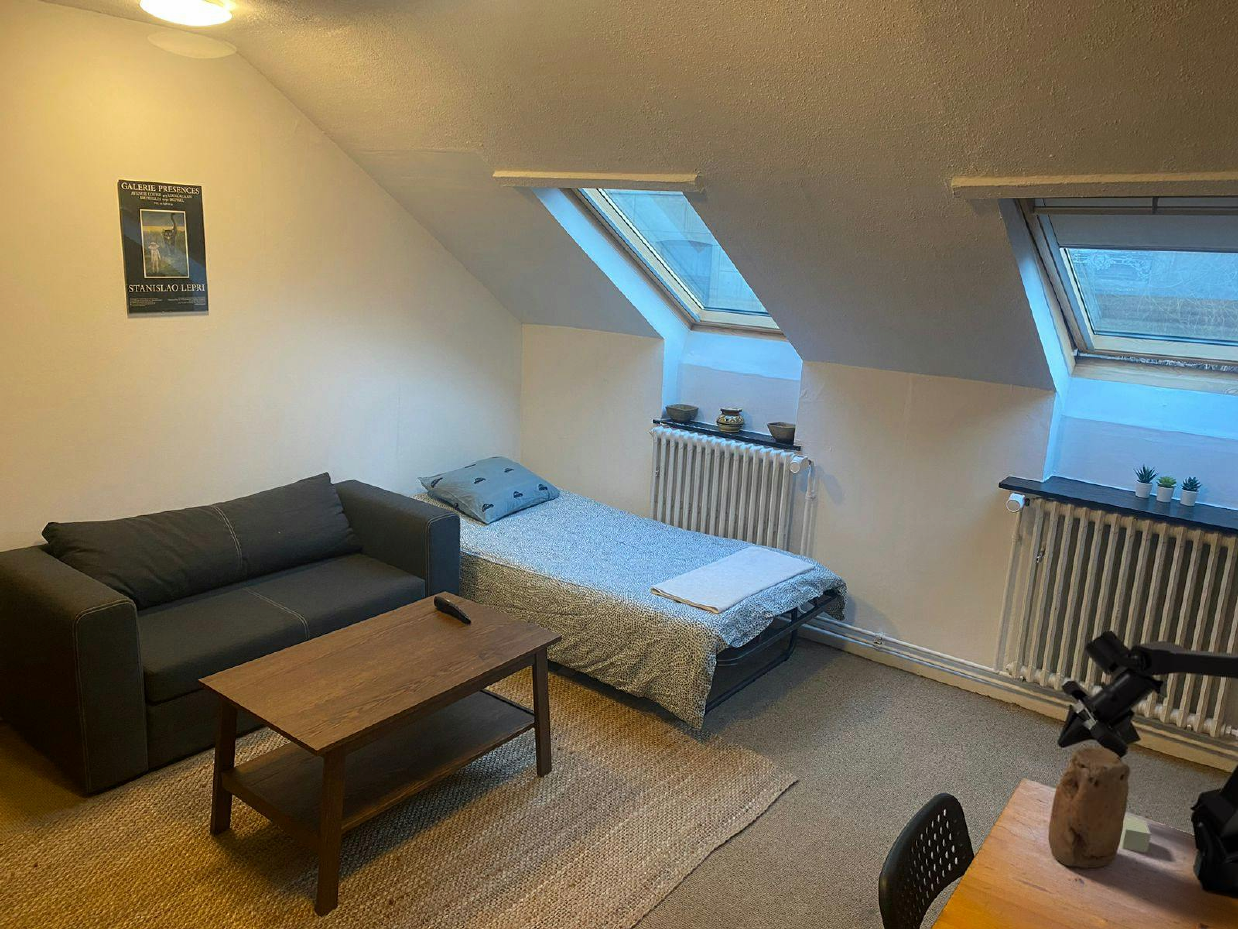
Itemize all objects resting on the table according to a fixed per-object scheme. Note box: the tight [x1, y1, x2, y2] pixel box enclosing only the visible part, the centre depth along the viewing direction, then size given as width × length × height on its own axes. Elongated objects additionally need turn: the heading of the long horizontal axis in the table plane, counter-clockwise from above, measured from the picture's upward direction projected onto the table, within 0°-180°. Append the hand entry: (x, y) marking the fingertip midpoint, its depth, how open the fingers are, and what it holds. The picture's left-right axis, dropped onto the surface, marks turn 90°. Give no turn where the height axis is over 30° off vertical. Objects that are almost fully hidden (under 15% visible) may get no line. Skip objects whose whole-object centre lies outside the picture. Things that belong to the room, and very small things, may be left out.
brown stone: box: [1047, 747, 1131, 868], centre depth 161 cm, size 11×8×20 cm
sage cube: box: [1120, 816, 1151, 853], centre depth 167 cm, size 4×4×4 cm
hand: (1059, 745), depth 177 cm, fingers closed
